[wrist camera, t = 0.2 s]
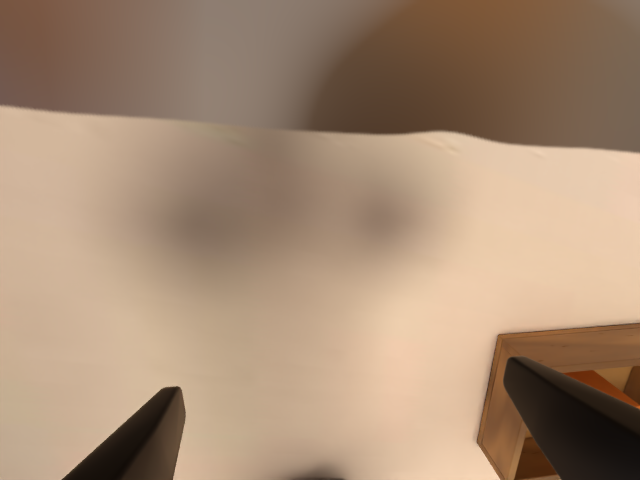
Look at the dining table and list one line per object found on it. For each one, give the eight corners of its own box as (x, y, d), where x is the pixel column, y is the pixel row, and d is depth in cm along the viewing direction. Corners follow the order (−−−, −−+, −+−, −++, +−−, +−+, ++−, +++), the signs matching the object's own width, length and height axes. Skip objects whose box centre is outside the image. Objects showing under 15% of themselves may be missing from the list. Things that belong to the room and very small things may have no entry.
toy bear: (578, 407, 30) (669, 491, 23) (537, 411, 30) (618, 498, 23) (590, 367, 29) (692, 444, 22) (548, 371, 28) (638, 451, 21)
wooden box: (608, 427, 33) (653, 467, 29) (476, 442, 31) (505, 487, 27) (646, 322, 29) (704, 352, 25) (498, 334, 27) (534, 368, 23)
